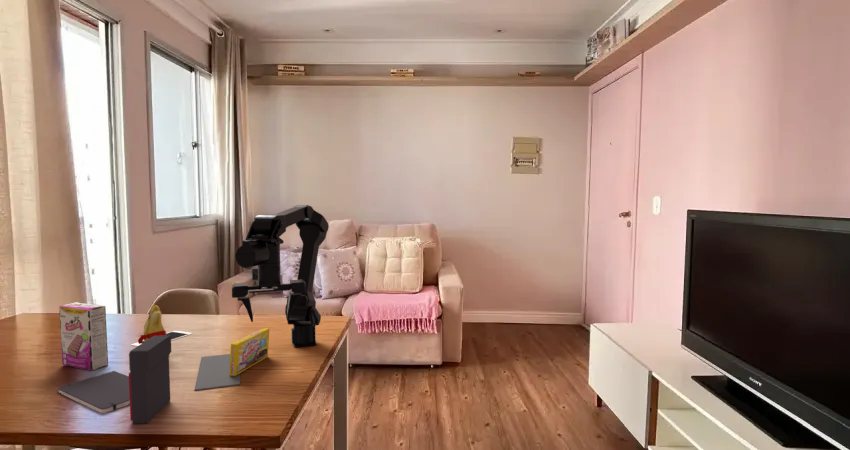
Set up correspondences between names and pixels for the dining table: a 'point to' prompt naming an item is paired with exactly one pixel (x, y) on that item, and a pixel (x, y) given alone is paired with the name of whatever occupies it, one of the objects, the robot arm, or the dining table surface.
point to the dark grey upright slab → (149, 378)
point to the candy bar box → (83, 335)
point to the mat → (215, 373)
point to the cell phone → (173, 335)
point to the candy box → (248, 351)
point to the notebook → (100, 391)
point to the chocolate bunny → (153, 325)
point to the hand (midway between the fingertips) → (270, 320)
